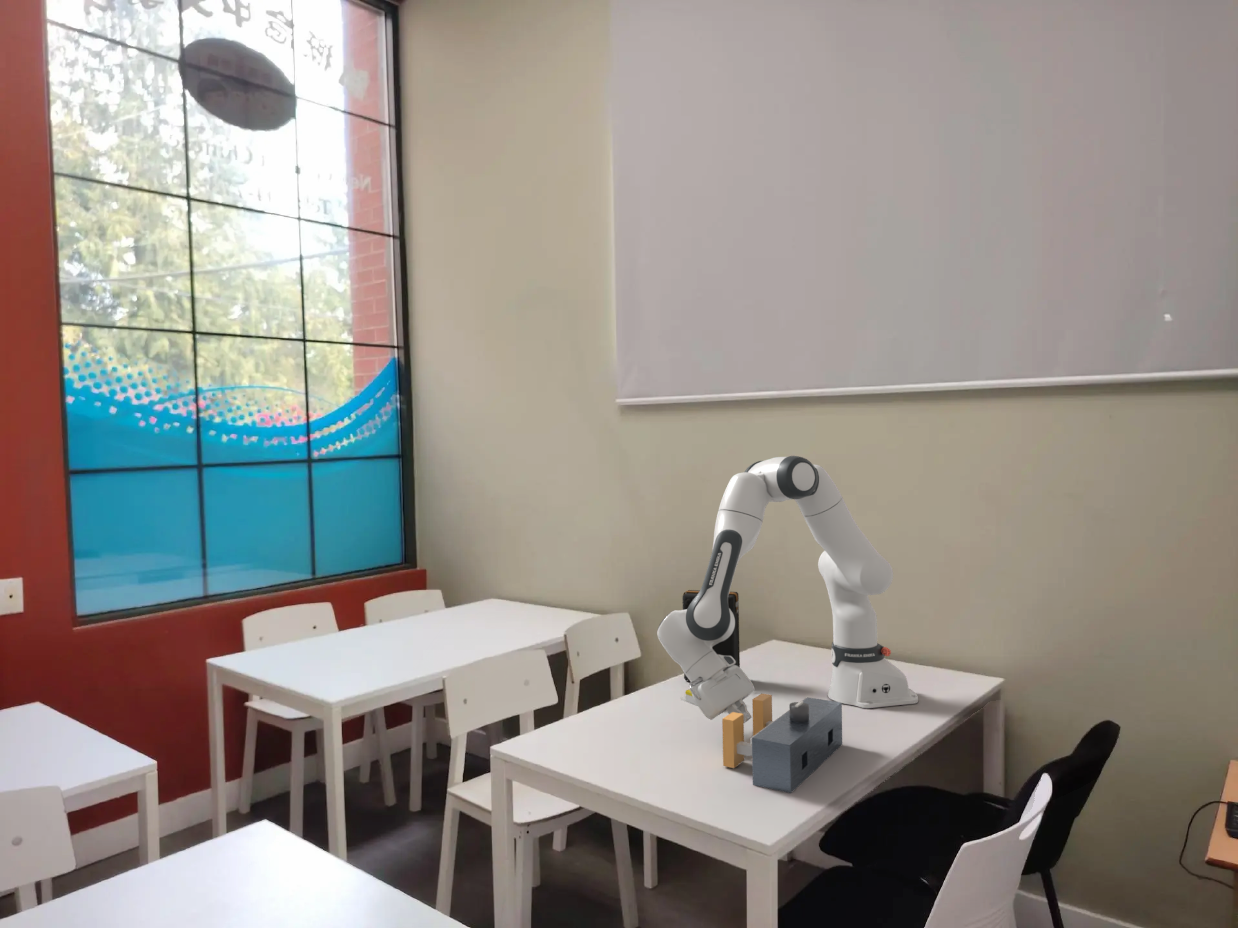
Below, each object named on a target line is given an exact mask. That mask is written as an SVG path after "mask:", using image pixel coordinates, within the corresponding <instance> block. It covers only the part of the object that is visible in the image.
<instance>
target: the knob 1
mask: <svg viewBox="0 0 1238 928" xmlns="http://www.w3.org/2000/svg"><path fill="white" fill-rule="evenodd" d="M721 722H722V724H721V725H722V727H721V728H722V729H721V730H722V766H723V767H727V768H731V769H735V768H737V767H738V766H739V765H740V764H741V763H744V761H745V756H747V757H752V745H751V744H750V742H747V741H745V735H744V734H745V732H744V731H745V727H744V726H745V723H744V715H743V714H741V713H736V712H732V713H730V714H729V713H728V715H726V716H724V717H722V719H721Z"/></svg>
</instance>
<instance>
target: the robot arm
mask: <svg viewBox="0 0 1238 928" xmlns="http://www.w3.org/2000/svg"><path fill="white" fill-rule="evenodd" d="M722 495H723V496H722V497H721V500H720V503H719V507H718V510H717V515H716V518H715V524H714V529H713V530H714V531H713V543H712V552H711V554H710V559H709V561H708V565H707V569H706V572H705V575H704V579H703V582H702V586H701V587H700V591H699V593H698V594H697V596H696V597H695V598H694V599H693V601H692V602H691V603H690V605H689V607H688V609H686V610H683V609H680V610H677V609H676V610H672V611H670V612H669V613H668V614H667V615H666V616H665V617H664V618H663V619H662V621H660V623H659V625H658V627H657V632H656V634H657V638H658V641H659V642H660V644H661V645H662V647H663V648H664V650H665V652H666V653H667V654H668V655H669V657H670V658H671V659H672V660H673V661H674V662H675V663H677V664H678V665H679V666H680V668H681V670H682V671H683V675H684V674H685V675H686V676H687V678H688V679H689V680H690V682H689V689H690V691H691V693H692V696H693V699H694V700H695V702H696V704H697V705H698V706H697V708H699V710H700V712H702V714H703V716H704V717H705V718H706V719H708V720H710V721H712V720H714V719H715V718H717V717H718V716H720V715H721V714H723V713H724V712H726V713H727V714H728V715H729V714H730V713H732V712H736V713H741V714H743V715H744V724H745V723H747V722H748V721H749V720H751V718H752V715H751V713H750V712H749V711H748V709H747V705H746V702H745V701H744V700H745V699H747V698H748V697H749V696H750V695H752V693H753V692H755V687H754V683H753V682H752V681H751V680H750V678H749V677H748V675H747V674H746V673H745V671H743V669H742V668H741V667H740V668H739V667H738V666H737V665H734V664H735V663H736V661H735V660H734V658H733V657H732V656H724V655H719V654H718V655H717V654H716V653H715V651H714V650H713V649H712V647H713V646H714V645H716V644H718V643H720V642H722V641H724V640H726V639H727V638H728V637H729V636H730V635H731V634H732V632H733V630H734V628H735V617H734V614H733V613H732V611H731V610H730V609H729V606H728V595H729V592H731V591H730V590H731V587H732V584H733V581H734V577H735V573H736V570H737V566H738V564H739V562H740V560H741V559H742V558H743V556H744V555H746V554H747V553H748V552H750V551H751V550H752V549H754V546H755V545H756V542H757V540H758V538H759V535H760V533H761V529H762V526H763V521H764V518H765V511H766V508H767V505H768V504H769V503H782V502H785V501H791V500H794V501H795V502H796V504H797V507H798V508H799V511H800V512H801V515H802V516H803V519H804V521H805V524H806V525H807V526H808V529H809V531H810V533H811V534H812V536H813V539H814V541H815V542H816V543H817V544H818V545H819V546H820V547H821V548H822V549H823V551H822V553H821V554H820V556H819V558H818V562H817V567H818V572H819V574H820V575H821V577H822V579H823V581H824V583H825V587H826V589H827V594H828V599H829V602H830V607H831V612H832V613H831V614H832V631H833V632H832V635H833V637H832V639H833V641H832V642H831V649H830V651H831V652H830V653H831V654H830V655H831V664H832V671H831V680H830V685H829V689H828V692H827V697H828V698H829V699H830V700H831V701H835V702H842V704H845V705H852V706H856V707H859V708H862V709H872V708H873V709H874V708H883V707H894V706H900V705H903V706H904V705H912V704H913V705H914V704H917V703H918V702H919V697H918V694H917V693H916V692H915V691H914V690H913V689H911V688H910V687H909V682H908V679H907V676H906V675H905V673H904V672H903V671H902V670H901V669H900V668H899V667H897V666H896V665H895V664H893V663H892V662H890V661H889V660H888V659H886V658H885V657H890V656H891V653H892V650H891V649H890V648H889V647H887V646H883V645H882V644H881V643H878V618H877V616H878V615H877V612H876V610H875V608H874V607H873V605H872V603H871V600H870V597H869V596H873V595H880V594H883V593H885V592H886V591H887V590H888V589H889V588H890V586H891V585H892V582H893V580H894V570H893V568H892V567H893V566H892V565H891V564H890V562H889V561H888V560H887V559H886V558H884V556H883V555H881V553H879V552H878V551H877V549H876V548H875V547H874V545H873V544H872V543H871V541H870V540H869V539H868V537H867V536H866V535H865V533H864V532H863V531H862V530H861V528H860V527H859V526H858V524H857V522H856V521H855V519H854V518H853V515H852V513H851V511H850V510H849V508H848V505H847V504H846V502H845V499H844V498H843V496H842V494H841V491H840V489H839V488H838V487H837V485H836V483H835V482H834V480H833V479H832V477H831V476H830V475H829V473H828V471H826V469H825V468H824V467H823V466H821V465H819V464H814V463H812V462H811V461H810V460H808V459H807V458H805V457H803V456H797V455H790V456H776V457H772V458H769V459H765V460H758V461H755V462H754V463H751V464H750V465H749V466H748V467H746V469H745V470H744V471H743V472H738V473H736V474H734V475H732V477H731V478H730V480H729V481H728V484H727V486H726V488H725V490H724V492H723V494H722Z"/></svg>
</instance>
